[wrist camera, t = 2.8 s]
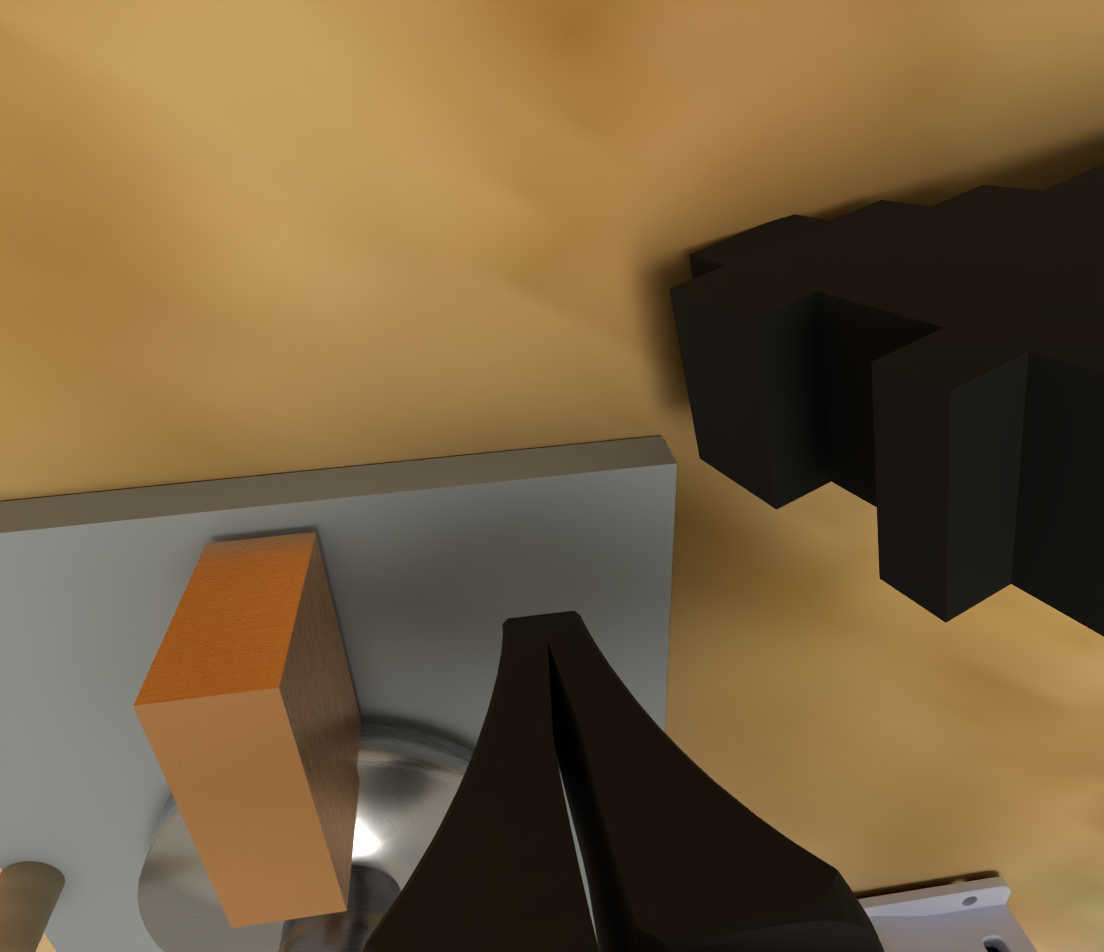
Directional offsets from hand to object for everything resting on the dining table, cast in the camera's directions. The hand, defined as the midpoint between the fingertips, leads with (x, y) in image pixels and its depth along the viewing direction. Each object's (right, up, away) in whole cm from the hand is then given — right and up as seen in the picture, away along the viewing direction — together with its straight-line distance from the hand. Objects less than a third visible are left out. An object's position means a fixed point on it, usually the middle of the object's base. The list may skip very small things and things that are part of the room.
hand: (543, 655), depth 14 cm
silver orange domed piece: (-5, -4, +4) cm, 7 cm away
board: (-5, -4, +6) cm, 9 cm away
